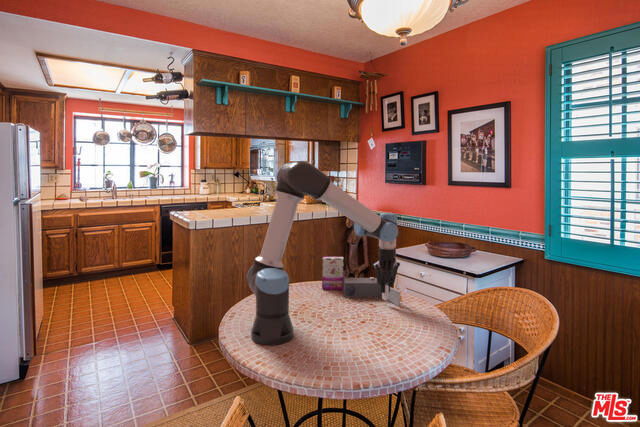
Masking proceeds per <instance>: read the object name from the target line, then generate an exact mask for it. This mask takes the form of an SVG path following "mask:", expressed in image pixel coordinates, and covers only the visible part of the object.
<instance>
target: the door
mask: <svg viewBox="0 0 640 427" xmlns="http://www.w3.org/2000/svg"><path fill="white" fill-rule="evenodd" d="M402 300H403V296H402V295H401V291H399V290H397V289H395V288H393V287H392V286H390V292H389V293H388V300H387V301H389V302H391V303H392V304H395V305H396V306H398V307H400V306H401V302H402Z"/></svg>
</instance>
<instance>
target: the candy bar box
mask: <svg viewBox="0 0 640 427" xmlns="http://www.w3.org/2000/svg"><path fill="white" fill-rule="evenodd" d="M321 261H322V262H321V263H322V264H321V265H322V266H321V267H322V270H321V271H322V274H321V275H322V276H321V281H322V282H321V284H322V285H321V289H322V290H325V291H327V290H328V291H330V290H332V291H343V278H345V273H344V272H345V258H344V256H322V260H321Z"/></svg>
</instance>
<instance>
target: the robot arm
mask: <svg viewBox="0 0 640 427" xmlns="http://www.w3.org/2000/svg"><path fill="white" fill-rule="evenodd" d="M276 182H277V183H276V187H275V190H274V192H275V195H276V200H275V203H274V204H275V205H274V207H273V211H272V215H271V216H270V220H269V224H268V228H267V231H266V234H265V237H264V242H263V244H262V247H261V251H260V254H259V255H258V256H257V257H255V258H254V261H253V264H252V266H251V267H250V268H249V269H248V271H247V275H246V282H247V286H248V287H249V289H250V291H251V292H252V293H253V295H254V297H255V318H254V321H253V324H252V327H251V330H250V338H251V340H252V341H253V342H255V343H257V344H259V345H264V346H278V345H282V344H284V343H287V342H289V341H291V340H292V339H293V338H294V332H295V331H294V330H295V329H294V326H293V323H292V320H291V317H290V308H289V307H290V301H289V300H290V278H289V274H288V272H287V271H285V270H284V267H285V266H284V263H282V260H283V255H284V252H285V250H286V246H287V243H288V239H289V237H290V233H291V229H292V226H293V223H294V219H295V217H296V214H297V213H296V212H297V211H298V210H297V209H298V207H299V206H298V205H299V203H301V202H302V201H304V199H305V195H307V196H308V197H311V198H312V199H314V200H315V201H318V200H320V201H322V202H323V203H325V204H326V205H328V206H329V207H331V208H332V209H334V210H336V211H337V212H338V213H340V214H341V215H343V216H345V217H346V218H348V219H349V220H350V221H352V222H353V229H354V233H355V235H357V236H361V237H364V236H366V237H371V238H375V239H378V247H379V248H378V258H377V262H375V263H372V266H373V268H374V271H375V278H377V283H378V284H380V285H381V292H382V297H381V299H382V300H383V301H386V302H387V301H388V293H389V292H390V287H392V285H394V284H395V281H396V278H397V273H398V269H399V267H400V266H401V263H400V262H398V261H397V259H396V256H397V255H396V253H397V251H396V250H397V237H398V235H399V228H398V216H397V214H396V213H394V212H381V213H380V214H378V213H376V212H375V211H373V210H372V209H370V208H369V207H368V206H366V205H364V204H363V203H362V202H360V201H359V200H357V199H356V198H355V197H353V196H352V195H350V194H349V193H347V192H346V191H344V190H343V189H342V188H341V187H339V186H337V185H336V184H335V183H333V181H332V178H331V177H330V176H328V175H327V174H326V173H324V172H323V171H321V170H320V169H319V168H317V167H316V166H315V165H313V164H312V163H310V162H308V161H304V160H301V161H300V160H299V161H289V162H286V163H285V164H283V165H282V166H280V168H279V169H278V170H277V173H276Z"/></svg>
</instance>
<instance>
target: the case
mask: <svg viewBox="0 0 640 427" xmlns="http://www.w3.org/2000/svg"><path fill="white" fill-rule="evenodd" d="M342 292H343V296H344V298H382V292H381V285H380V284H378V283H377V278H376V277H373V276H372V277H371V276H370V277H344V278H343V290H342Z"/></svg>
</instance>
